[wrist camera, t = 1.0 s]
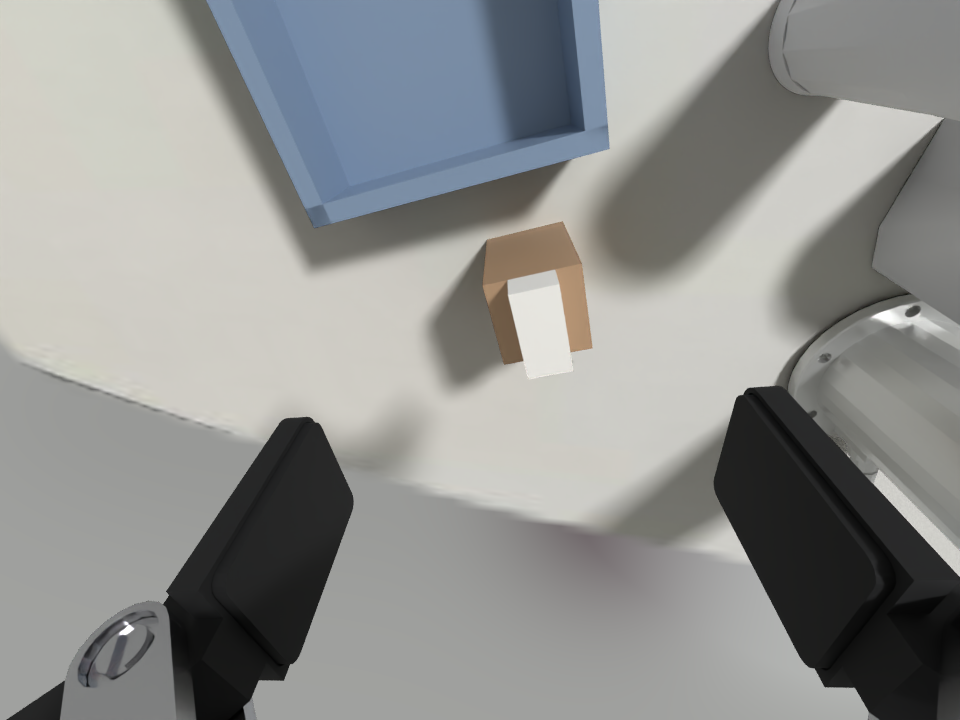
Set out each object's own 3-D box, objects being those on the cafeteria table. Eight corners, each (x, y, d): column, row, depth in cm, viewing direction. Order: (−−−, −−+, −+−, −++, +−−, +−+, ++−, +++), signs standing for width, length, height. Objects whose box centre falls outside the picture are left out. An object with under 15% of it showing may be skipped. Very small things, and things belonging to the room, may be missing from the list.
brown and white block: (572, 291, 29) (598, 366, 21) (503, 306, 30) (504, 383, 22) (562, 221, 26) (588, 277, 18) (486, 239, 27) (481, 301, 19)
